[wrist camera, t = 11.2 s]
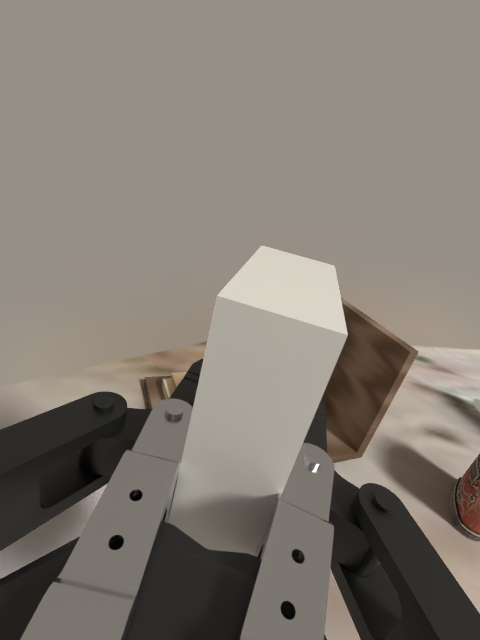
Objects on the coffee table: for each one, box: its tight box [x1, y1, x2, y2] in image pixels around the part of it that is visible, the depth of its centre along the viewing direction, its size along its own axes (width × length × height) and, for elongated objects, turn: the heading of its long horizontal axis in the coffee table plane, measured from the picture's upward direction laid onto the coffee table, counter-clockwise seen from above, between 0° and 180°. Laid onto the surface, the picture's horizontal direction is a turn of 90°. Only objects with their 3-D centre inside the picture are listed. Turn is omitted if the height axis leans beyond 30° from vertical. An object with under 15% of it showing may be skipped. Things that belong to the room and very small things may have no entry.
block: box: [168, 246, 348, 555], centre depth 12 cm, size 6×2×14 cm, turn 167°
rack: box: [144, 298, 418, 463], centre depth 38 cm, size 16×23×15 cm
